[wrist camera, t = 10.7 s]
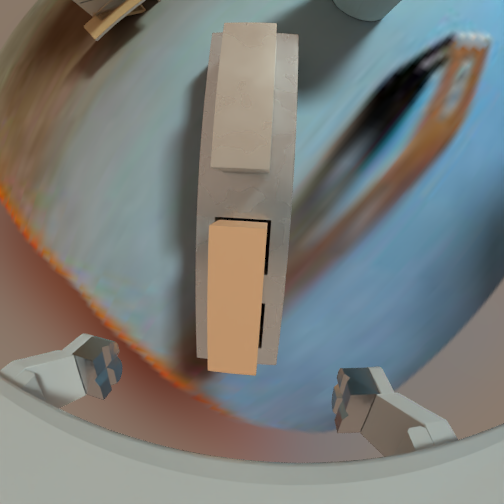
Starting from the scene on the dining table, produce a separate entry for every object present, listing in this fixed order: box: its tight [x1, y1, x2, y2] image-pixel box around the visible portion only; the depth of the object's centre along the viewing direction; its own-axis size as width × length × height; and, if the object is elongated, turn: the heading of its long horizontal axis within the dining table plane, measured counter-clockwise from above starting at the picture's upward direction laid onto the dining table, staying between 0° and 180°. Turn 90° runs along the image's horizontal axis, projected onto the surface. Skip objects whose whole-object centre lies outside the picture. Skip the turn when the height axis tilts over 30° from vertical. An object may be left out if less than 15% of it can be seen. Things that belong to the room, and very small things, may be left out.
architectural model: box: [73, 0, 161, 41], centre depth 15 cm, size 3×7×8 cm, turn 129°
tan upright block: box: [207, 220, 267, 375], centre depth 19 cm, size 3×9×7 cm, turn 177°
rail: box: [196, 23, 298, 365], centre depth 18 cm, size 6×24×7 cm, turn 177°
